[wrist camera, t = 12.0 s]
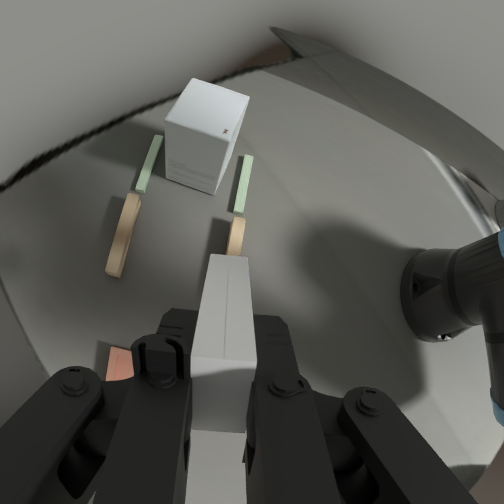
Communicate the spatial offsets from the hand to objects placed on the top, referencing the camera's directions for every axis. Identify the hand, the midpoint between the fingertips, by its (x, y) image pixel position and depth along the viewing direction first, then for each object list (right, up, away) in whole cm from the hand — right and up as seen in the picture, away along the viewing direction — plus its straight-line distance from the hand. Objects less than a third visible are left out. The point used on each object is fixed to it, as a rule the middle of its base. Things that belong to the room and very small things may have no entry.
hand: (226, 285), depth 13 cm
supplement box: (-6, +13, +30) cm, 33 cm away
